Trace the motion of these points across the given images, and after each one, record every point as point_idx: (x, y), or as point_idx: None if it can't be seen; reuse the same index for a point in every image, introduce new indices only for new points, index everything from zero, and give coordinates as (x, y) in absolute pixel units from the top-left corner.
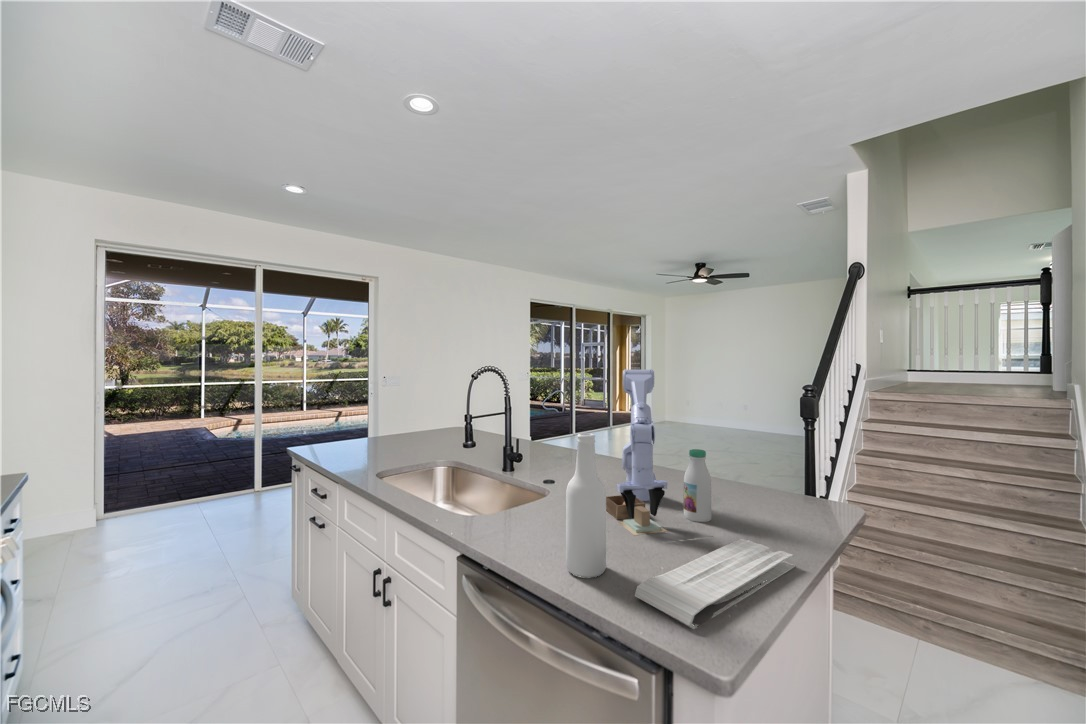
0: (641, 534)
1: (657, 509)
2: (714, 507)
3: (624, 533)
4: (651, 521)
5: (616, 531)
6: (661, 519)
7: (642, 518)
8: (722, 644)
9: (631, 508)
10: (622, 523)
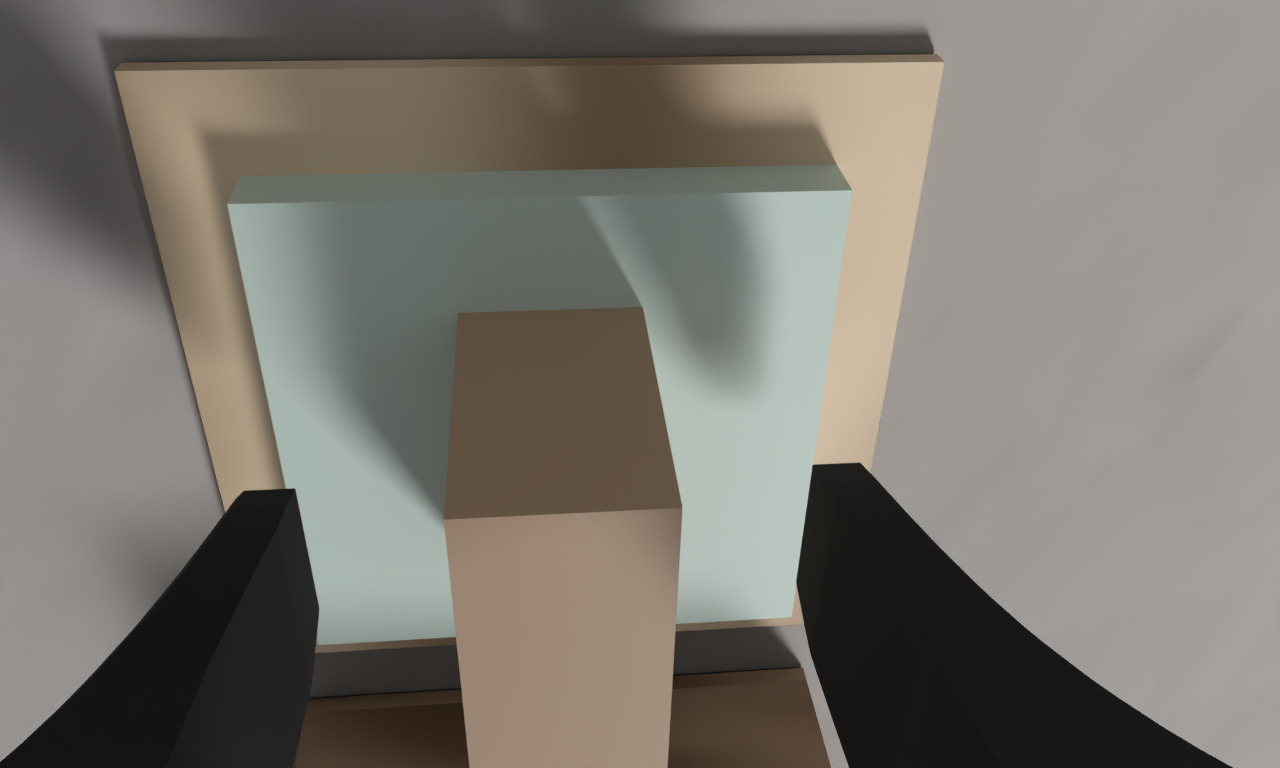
0: (776, 65)
1: (177, 579)
2: None
3: (1012, 229)
4: (325, 484)
5: (1079, 335)
6: (38, 618)
7: (647, 405)
8: None
9: (985, 599)
10: None
